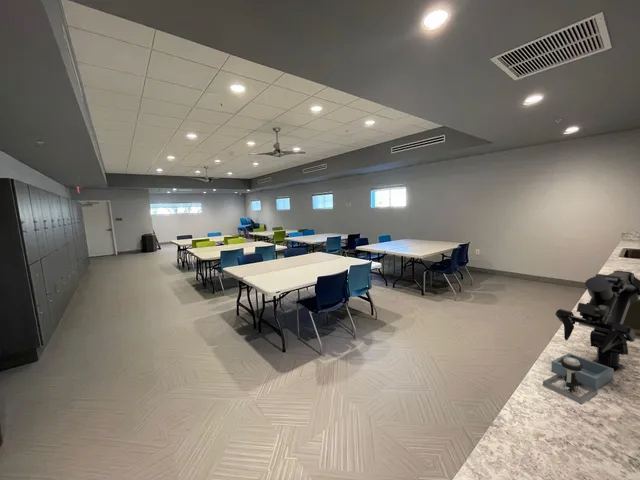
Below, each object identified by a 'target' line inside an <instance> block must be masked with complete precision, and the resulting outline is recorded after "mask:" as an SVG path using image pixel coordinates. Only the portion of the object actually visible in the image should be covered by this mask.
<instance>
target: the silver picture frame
mask: <svg viewBox="0 0 640 480" xmlns="http://www.w3.org/2000/svg"><path fill="white" fill-rule="evenodd" d="M564 376H565V375H563V374H560V373H559V374H554V375H553V376H550V377H549V378H547V379H545V380H542V386H543V387H545V388H547V389H549V390H551V391H554V392H555V393H557V394H560V395H562V396H564V397H566V398H567V399H571V400H573V401H574V402H576V403H578V404H581V405H582V404H584V403H585V402H587V401H589V400H590V399H592V398H594V397H595V396H597V395H598V394H599V392H598V391H599V389H596V388H593V387H591V386H589V385H586V384H584V383H581V382H579V381H578V388H580V389H583V390H585V391H586V392H585V393H584V394H582V395H581V396H579V395H576V394H574V393H573V392H568V391H566V390H564V388H561V387H559V386H557V385H555V384H554V383H556V382H557V381H560V380H562V381H563V382H565V380H564Z"/></svg>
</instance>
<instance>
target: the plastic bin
mask: <svg viewBox="0 0 640 480" xmlns="http://www.w3.org/2000/svg"><path fill="white" fill-rule="evenodd" d="M564 357H571V358H575V359H577V360H578V361H579V362H580V363H581V364H582V365H583V367H582V368H581V371H577V372H575V376H576V379H577V381H579V382H581V383H584V384H586V385H589V386H591V387H593V388H596V389H598V390H599V389H601V388H603V387H604V386H606V385H607V384H609V383H611V382H612V381H614V373H615V372H614V369H613V368H610V367H607V366H604V365H601V364H599V363H596V362H593V360H590V359H587V358H584V357H582V356H578V355H577V354H573V353H570V352H569V353H566V354H565V355H562V356H560V357H558V358H556V359H553V360H552V361H551V368H550V371H551V372H552V373H553V374H555V375H557V374H559V373H560V374H563V375H565V376H566V374H567V369H566V368H564V367H563V366H562V363H561V362H560V360H561V359H563V358H564Z"/></svg>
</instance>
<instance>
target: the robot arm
mask: <svg viewBox="0 0 640 480" xmlns="http://www.w3.org/2000/svg"><path fill="white" fill-rule="evenodd" d="M584 285H585V288H586V289H587V292H588V295H589V296H590V297H591V298H590V300H589V302H586V303H583V302H578V305H577V308H576V313H577V312H578V313H579V316H575V314H574V313H573V312H572V310H571V311H570V310H566V309H562V308H559V309H557V310H556V311H555V314H554V315H555V316H556V318H557V319H558V320H559V321H560V322H561V323H562V324H563V333H564V334H563V335H564V340H565V341H566V342H567V341H568V340H569V339H570V337H571V335H572V332H573V331H574V329H575V324H576V323H578V324H582V325H585V326H590V327H592V328H594V329H593V330H591V331H590V333H589V334H590V335H589V339H590V346H591V347H595V348H596V358H595V359H593V360H592V361H593V362H596V363H599V364H601V365H604V366H607V367H610V368H613V369H614V371H615V372H616V371H619V370H620V369H622V368H623V367H624V365H623V364H621V363H620V357H621V356H624V355H628V354H629V347H628V343H627V342H630V343H634V342H635V340H636V336H637V335H636V333H635V331H634V330H633V328H632V327H631V326H630V325H626V324H624V321H625V320H626V316H627V313H628V311H629V308H630V306H631V304H633V303H635V302H636V303H637V302H638V301H639V299H640V279H638V277H636V276H635V274H634V272H632V271H625V270H614V271H613V272H612V273H609V274H601V273H596V275H595V276H593V277H590V278H587V280H586V281H585V282H584Z"/></svg>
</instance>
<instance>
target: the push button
mask: <svg viewBox="0 0 640 480" xmlns="http://www.w3.org/2000/svg"><path fill="white" fill-rule="evenodd" d="M560 362H561V363H562V366H563V367H564V368H566V369H567V374H566V376H564V380H565V381H564V380H563V390H566V391H568V392H570V393H573V391H575V392H577V391H578V389H579V387H578V381H577V379H576V376H575V372H577V371H581V368H582V367H583V365H582V364H581V363H580V362H579V361H578V360H577V359H575V358H571V357H564V358H563V359H561V360H560Z"/></svg>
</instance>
